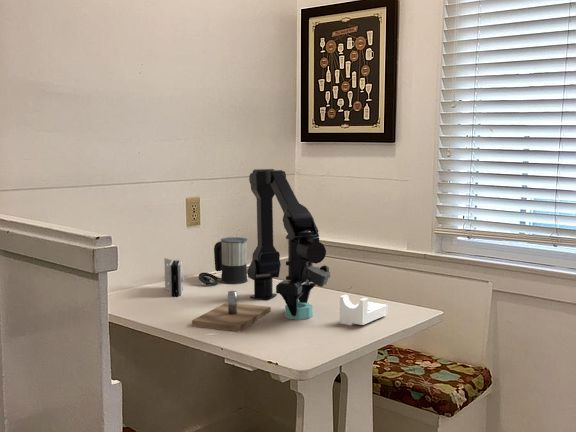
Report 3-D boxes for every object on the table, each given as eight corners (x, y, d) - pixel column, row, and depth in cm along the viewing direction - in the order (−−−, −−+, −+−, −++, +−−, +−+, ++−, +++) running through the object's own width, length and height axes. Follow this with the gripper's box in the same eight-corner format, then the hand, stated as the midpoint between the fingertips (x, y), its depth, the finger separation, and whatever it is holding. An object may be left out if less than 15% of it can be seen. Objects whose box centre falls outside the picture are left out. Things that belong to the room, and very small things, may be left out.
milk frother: (252, 279, 227) (252, 237, 225) (230, 289, 213) (229, 244, 211) (217, 276, 233) (216, 235, 231) (193, 285, 219) (192, 242, 217)
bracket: (362, 328, 170) (362, 300, 169) (339, 324, 174) (339, 296, 173) (387, 317, 180) (387, 290, 179) (364, 313, 185) (365, 287, 184)
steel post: (230, 313, 180) (230, 290, 179) (238, 314, 179) (238, 291, 179) (226, 315, 178) (226, 292, 177) (234, 316, 177) (234, 293, 176)
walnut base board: (226, 307, 191) (226, 302, 190) (270, 311, 185) (270, 306, 185) (191, 325, 172) (191, 320, 172) (239, 331, 167) (239, 325, 167)
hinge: (164, 287, 216) (164, 257, 215) (181, 286, 218) (180, 257, 216) (170, 297, 203) (169, 265, 202) (187, 296, 204) (186, 264, 203)
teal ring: (291, 311, 186) (291, 301, 185) (315, 314, 183) (315, 303, 183) (282, 318, 179) (282, 307, 179) (306, 320, 177) (306, 309, 176)
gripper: (314, 265, 167) (314, 324, 169) (337, 253, 185) (336, 307, 187) (275, 262, 172) (275, 320, 174) (300, 250, 189) (300, 303, 191)
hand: (298, 312), depth 181 cm, fingers closed on teal ring, 7 cm apart
